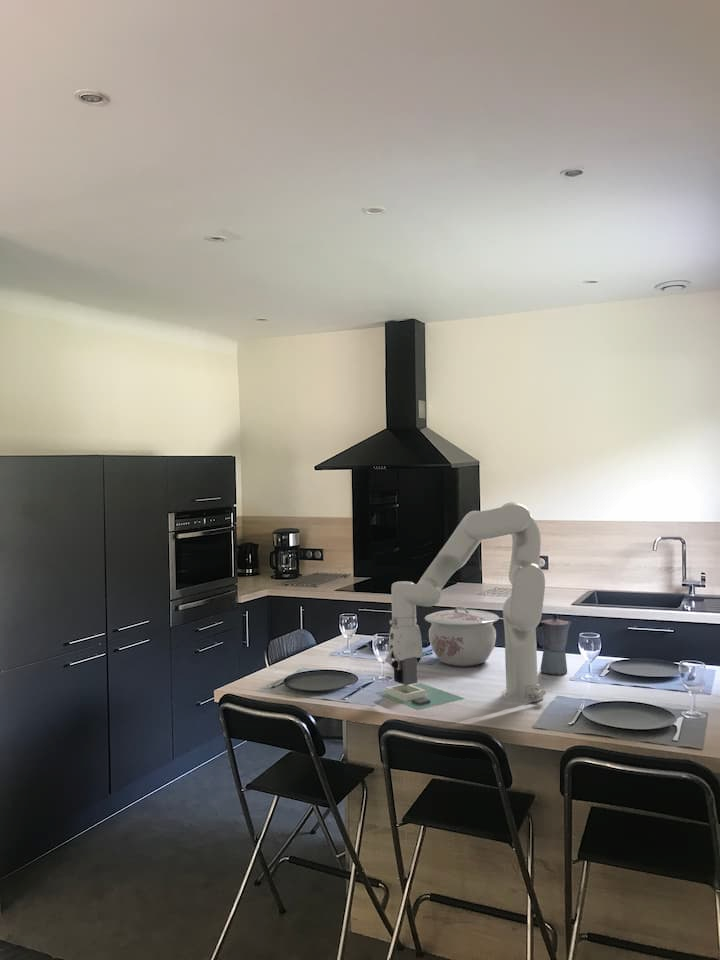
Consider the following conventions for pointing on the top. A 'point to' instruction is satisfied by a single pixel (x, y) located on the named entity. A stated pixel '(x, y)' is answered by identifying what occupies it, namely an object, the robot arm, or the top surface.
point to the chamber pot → (462, 636)
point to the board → (418, 695)
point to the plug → (409, 671)
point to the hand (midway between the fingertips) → (405, 679)
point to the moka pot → (554, 645)
